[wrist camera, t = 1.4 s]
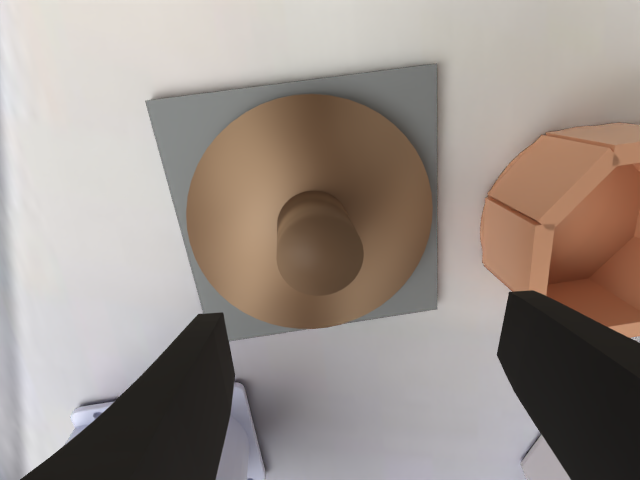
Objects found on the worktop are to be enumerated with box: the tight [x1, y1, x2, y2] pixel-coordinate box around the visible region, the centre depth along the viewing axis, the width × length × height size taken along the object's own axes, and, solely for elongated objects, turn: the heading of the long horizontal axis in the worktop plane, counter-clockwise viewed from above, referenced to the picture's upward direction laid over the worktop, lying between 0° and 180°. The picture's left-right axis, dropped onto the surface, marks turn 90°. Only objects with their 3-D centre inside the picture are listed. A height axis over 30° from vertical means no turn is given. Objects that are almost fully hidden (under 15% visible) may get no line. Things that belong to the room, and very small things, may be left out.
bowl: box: [480, 123, 640, 338], centre depth 18 cm, size 9×9×4 cm
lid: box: [186, 94, 433, 329], centre depth 16 cm, size 11×11×4 cm
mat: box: [145, 64, 437, 341], centre depth 18 cm, size 12×12×1 cm
